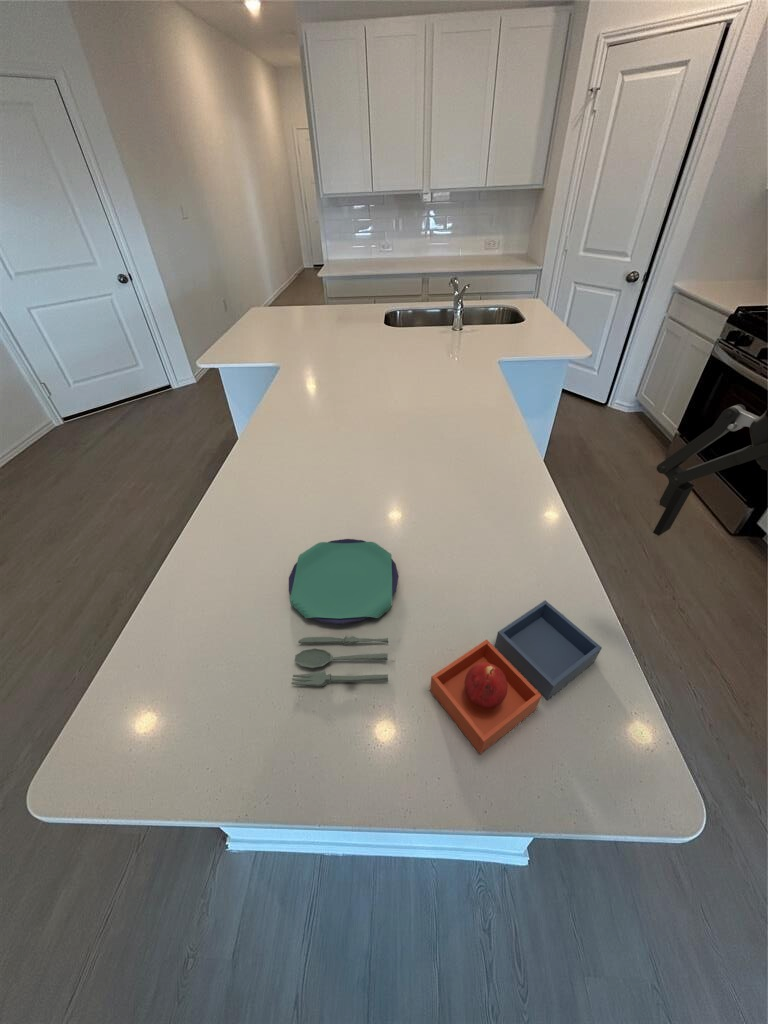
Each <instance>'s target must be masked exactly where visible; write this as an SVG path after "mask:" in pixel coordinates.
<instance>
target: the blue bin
mask: <svg viewBox="0 0 768 1024" xmlns="http://www.w3.org/2000/svg"><path fill="white" fill-rule="evenodd" d="M494 647H495V648H496V649H497V650H498V651H499V652H500V653H501V654H502V655H503V656H504V657H505V658H506V659H507V660H508V661H509V662H510V663H511V664H512V665H513V666H514V667H515V669H516V670H517V671H518V672H519V673H520V674H521V675H522V676H523V677H524V678H525V679H526V680H527V681H528V682H529V683H530V684H531V685H532V686H533V687H534V688H535V689H536V690H537V691H538V692H539V693H540V694H541V695H542V697H544V699H545V700H547V701H548V700H550V699H551V698H552V697H553V696H555V695H556V694H557V693H558V692H559V691H561V690H562V689H563V688H564V687H566V686H567V685H568V684H569V683H570V682H572V681H573V680H574V679H576V678H577V677H578V676H579V675H581V674H582V673H583V672H584V671H586V669H588V668H589V667H590V666H591V665H592V664H594V663H595V662H596V660H597V658H598V656H599V654H600V653H601V651H602V649H603V647H602V646H601V645H600V644H598V643H597V642H596V641H595V640H594V639H593V638H592V637H590V636H589V635H588V634H587V633H585V632H584V631H583V630H581V628H580V627H578V626H577V625H576V624H575V623H574V622H572V621H571V620H570V619H569V618H567V617H566V616H565V615H564V614H563V613H561V612H560V611H559V610H558V609H557V608H556V607H554V606H553V605H552V604H551V603H550V602H548V601H547V600H543V601H542V602H540V603H539V604H537V605H536V606H534V607H532V608H531V609H530V610H528V611H527V612H525V613H523V614H522V615H521V616H519V617H517V618H516V619H515V620H513V621H511V622H510V623H509V624H507V625H506V626H504V627H503V628H501V629H500V630H498V631H497V635H496V638H495V642H494Z"/></svg>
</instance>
